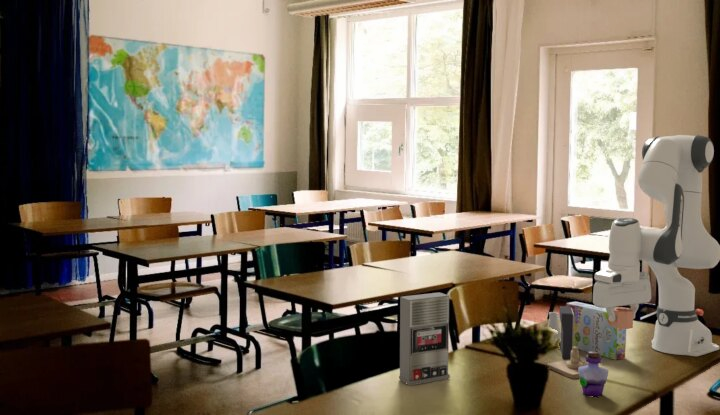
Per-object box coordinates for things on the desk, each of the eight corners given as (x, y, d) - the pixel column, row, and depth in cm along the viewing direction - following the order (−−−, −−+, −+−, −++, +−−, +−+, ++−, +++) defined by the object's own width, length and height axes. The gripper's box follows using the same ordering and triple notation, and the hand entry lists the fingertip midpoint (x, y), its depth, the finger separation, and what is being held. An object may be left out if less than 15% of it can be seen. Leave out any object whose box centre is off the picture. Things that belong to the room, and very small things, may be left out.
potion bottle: (570, 394, 212) (572, 352, 211) (584, 386, 219) (586, 345, 217) (600, 401, 206) (601, 358, 205) (613, 393, 213) (615, 351, 212)
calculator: (574, 360, 245) (575, 314, 243) (560, 359, 245) (561, 313, 244) (571, 350, 255) (573, 306, 254) (558, 349, 256) (559, 305, 255)
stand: (576, 362, 242) (576, 340, 241) (603, 373, 231) (604, 349, 230) (545, 367, 237) (546, 344, 236) (572, 378, 226) (573, 354, 225)
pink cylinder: (621, 322, 230) (622, 306, 230) (637, 327, 225) (637, 310, 224) (606, 325, 228) (607, 308, 227) (622, 329, 222) (622, 312, 222)
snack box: (626, 358, 247) (628, 312, 246) (615, 360, 244) (617, 314, 243) (574, 343, 265) (575, 300, 263) (563, 345, 261) (564, 302, 260)
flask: (564, 339, 269) (565, 311, 268) (562, 344, 262) (563, 316, 261) (543, 337, 271) (543, 310, 270) (540, 342, 265) (541, 314, 264)
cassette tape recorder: (409, 386, 219) (410, 300, 216) (399, 380, 224) (399, 296, 222) (450, 379, 225) (451, 296, 223) (438, 373, 230) (439, 292, 228)
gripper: (640, 269, 232) (639, 314, 234) (590, 274, 223) (588, 321, 224) (657, 272, 227) (655, 318, 228) (606, 278, 217) (604, 325, 219)
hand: (621, 319), depth 226 cm, fingers closed on pink cylinder, 6 cm apart
